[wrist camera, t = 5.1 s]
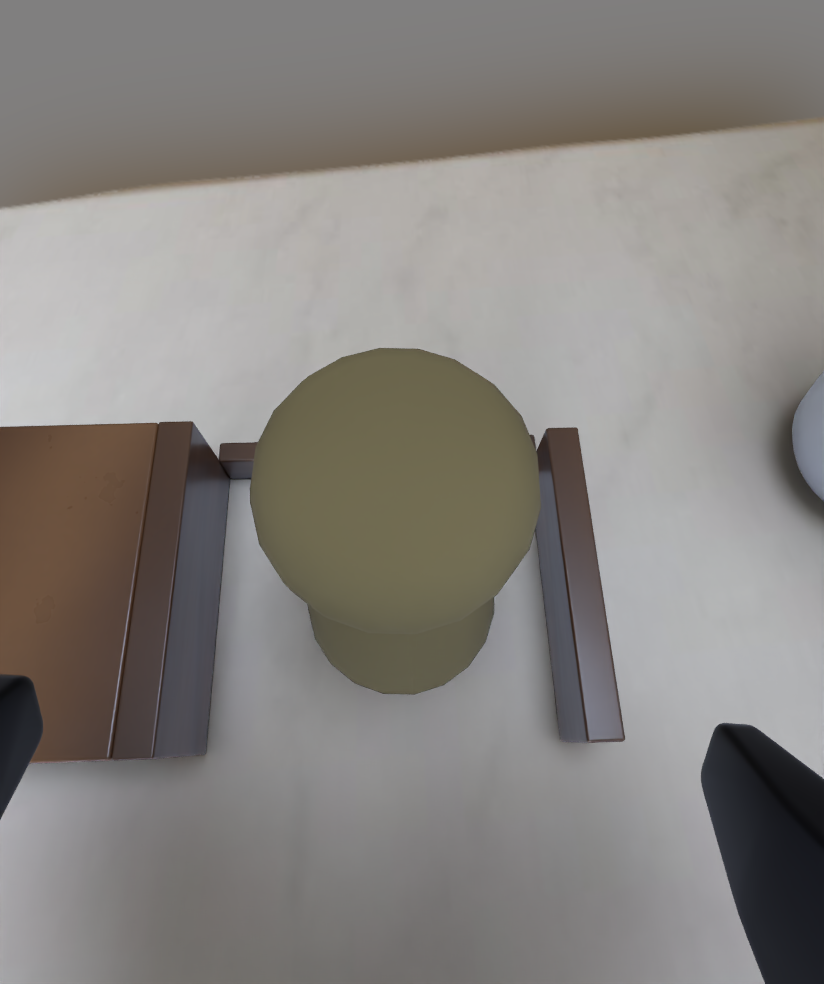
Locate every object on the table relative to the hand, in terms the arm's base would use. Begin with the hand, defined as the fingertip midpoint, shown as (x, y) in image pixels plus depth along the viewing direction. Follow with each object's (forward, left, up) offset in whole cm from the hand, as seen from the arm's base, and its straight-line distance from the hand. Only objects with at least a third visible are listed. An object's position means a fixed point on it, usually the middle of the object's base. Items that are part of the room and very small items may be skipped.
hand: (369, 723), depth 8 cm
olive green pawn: (+4, +2, -11) cm, 12 cm away
